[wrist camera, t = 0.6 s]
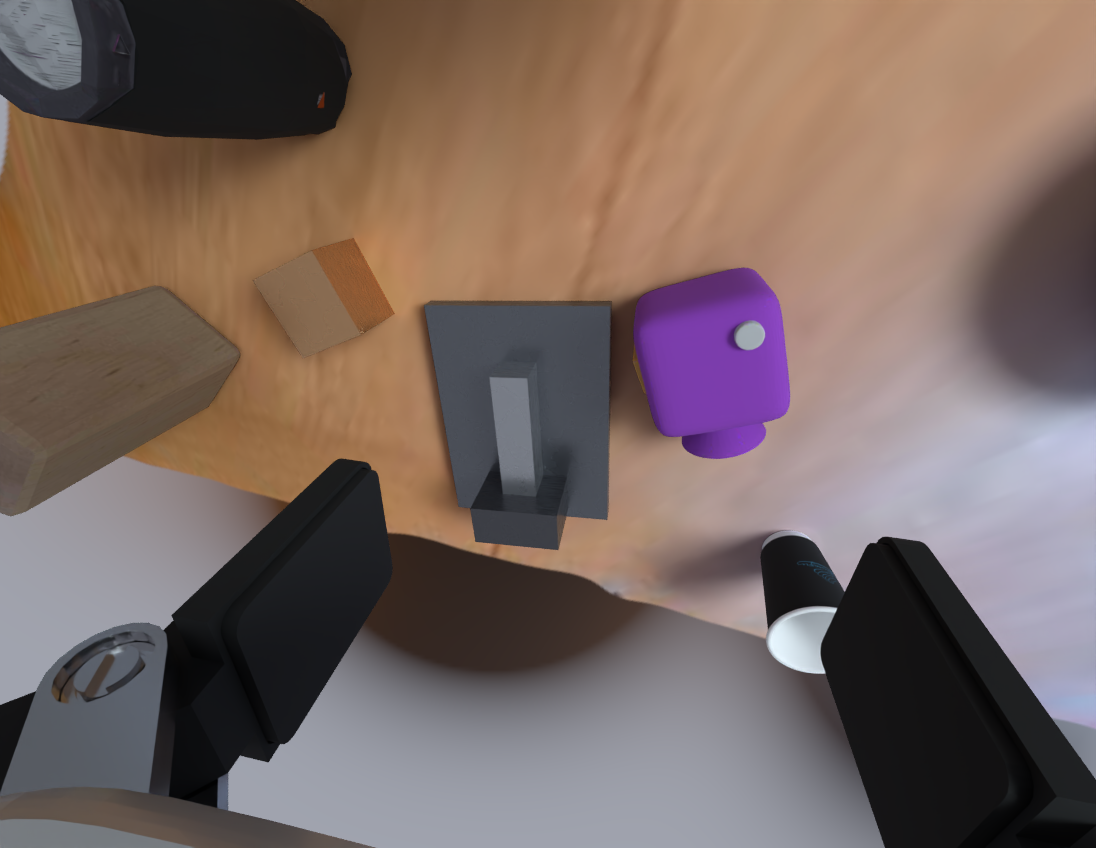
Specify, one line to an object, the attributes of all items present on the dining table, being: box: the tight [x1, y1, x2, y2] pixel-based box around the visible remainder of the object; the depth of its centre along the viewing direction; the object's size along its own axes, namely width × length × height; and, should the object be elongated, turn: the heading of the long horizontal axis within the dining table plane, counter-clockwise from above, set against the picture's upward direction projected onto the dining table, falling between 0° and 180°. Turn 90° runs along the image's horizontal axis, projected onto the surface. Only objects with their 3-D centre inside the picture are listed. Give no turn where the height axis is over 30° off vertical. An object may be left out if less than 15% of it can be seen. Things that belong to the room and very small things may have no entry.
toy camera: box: [633, 268, 790, 459], centre depth 36 cm, size 11×14×10 cm
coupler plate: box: [424, 301, 612, 550], centre depth 44 cm, size 22×16×8 cm
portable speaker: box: [0, 0, 352, 139], centre depth 28 cm, size 9×9×20 cm
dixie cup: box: [761, 530, 845, 673], centre depth 44 cm, size 8×8×11 cm
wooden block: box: [0, 286, 240, 516], centre depth 42 cm, size 10×10×20 cm
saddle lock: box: [253, 238, 395, 358], centre depth 42 cm, size 7×6×6 cm
